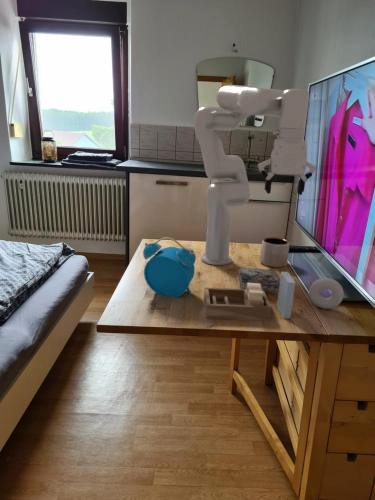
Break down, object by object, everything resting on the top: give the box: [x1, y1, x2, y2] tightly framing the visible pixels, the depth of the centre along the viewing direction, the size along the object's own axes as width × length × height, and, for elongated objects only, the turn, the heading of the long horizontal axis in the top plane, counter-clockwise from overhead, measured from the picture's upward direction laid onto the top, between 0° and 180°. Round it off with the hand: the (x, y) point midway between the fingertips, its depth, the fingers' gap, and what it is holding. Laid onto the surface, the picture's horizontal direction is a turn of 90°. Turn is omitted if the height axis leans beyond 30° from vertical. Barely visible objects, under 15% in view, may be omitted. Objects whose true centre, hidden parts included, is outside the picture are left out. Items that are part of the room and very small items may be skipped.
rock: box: [237, 267, 281, 295], centre depth 126 cm, size 16×8×10 cm, turn 73°
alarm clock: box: [142, 236, 197, 298], centre depth 119 cm, size 17×10×20 cm, turn 71°
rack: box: [203, 287, 273, 322], centre depth 112 cm, size 12×18×5 cm, turn 90°
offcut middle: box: [244, 290, 264, 306], centre depth 111 cm, size 8×4×2 cm, turn 3°
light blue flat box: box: [276, 271, 296, 319], centre depth 111 cm, size 8×2×12 cm, turn 0°
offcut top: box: [247, 283, 263, 301], centre depth 110 cm, size 7×4×2 cm, turn 176°
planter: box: [259, 236, 291, 269], centre depth 153 cm, size 11×11×10 cm
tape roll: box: [308, 277, 345, 310], centre depth 116 cm, size 10×4×10 cm, turn 71°
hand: (283, 193), depth 116 cm, fingers open, 9 cm apart
